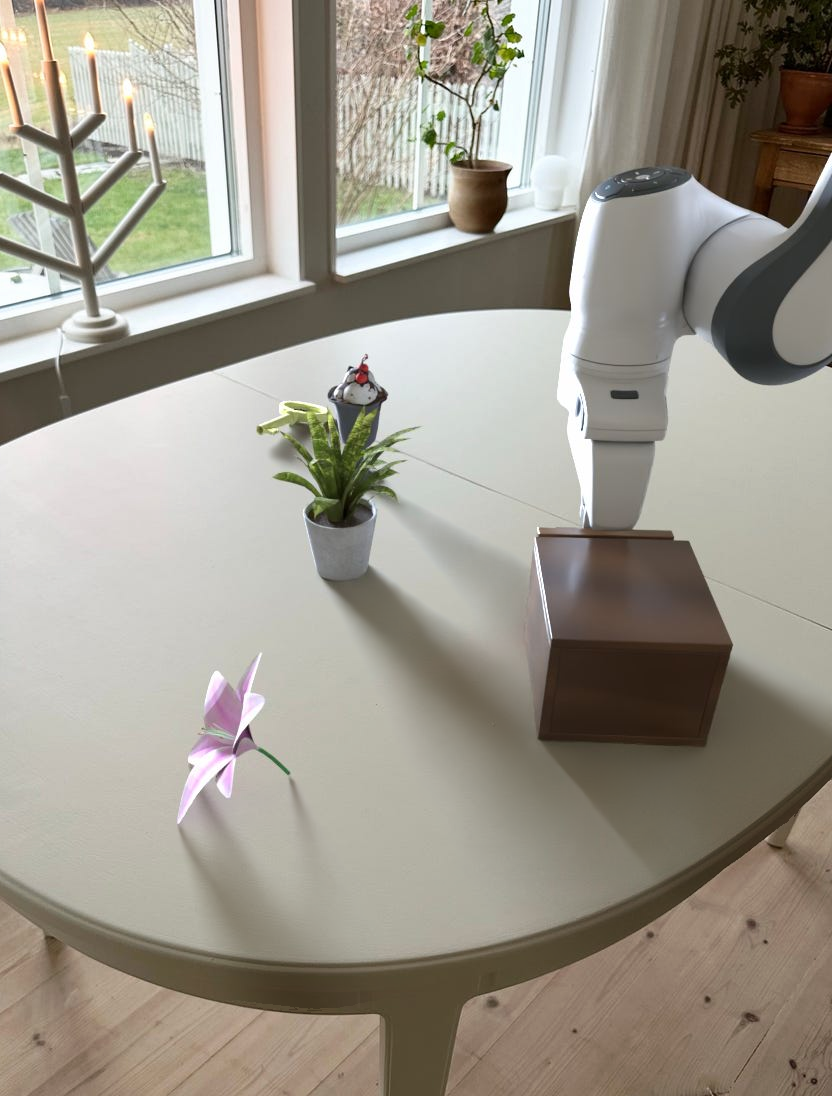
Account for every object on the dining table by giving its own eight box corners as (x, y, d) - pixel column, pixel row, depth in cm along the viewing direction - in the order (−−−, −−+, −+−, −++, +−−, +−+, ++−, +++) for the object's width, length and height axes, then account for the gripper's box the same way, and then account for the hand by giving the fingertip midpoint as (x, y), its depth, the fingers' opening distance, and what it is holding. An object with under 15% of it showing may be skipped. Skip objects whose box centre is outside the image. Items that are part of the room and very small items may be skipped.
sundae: (371, 495, 106) (370, 363, 98) (319, 483, 109) (314, 353, 100) (398, 472, 111) (400, 344, 102) (347, 460, 114) (345, 335, 105)
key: (254, 443, 118) (253, 427, 117) (285, 406, 128) (284, 391, 126) (310, 449, 116) (309, 432, 115) (337, 411, 126) (336, 395, 125)
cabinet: (524, 630, 85) (534, 536, 79) (668, 635, 84) (689, 540, 78) (537, 740, 73) (551, 639, 67) (705, 746, 72) (733, 644, 67)
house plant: (405, 621, 86) (409, 454, 77) (257, 607, 88) (243, 443, 79) (424, 543, 98) (429, 389, 88) (292, 532, 100) (284, 381, 90)
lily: (236, 716, 77) (165, 646, 71) (359, 706, 71) (292, 627, 65) (185, 852, 71) (101, 786, 65) (315, 853, 64) (236, 781, 58)
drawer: (525, 575, 91) (533, 502, 86) (647, 578, 90) (661, 504, 85) (541, 695, 76) (552, 614, 71) (687, 700, 75) (708, 619, 71)
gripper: (562, 340, 89) (546, 475, 97) (588, 429, 73) (567, 582, 81) (630, 341, 89) (609, 476, 97) (673, 430, 72) (643, 585, 80)
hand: (590, 525), depth 89 cm, fingers closed
